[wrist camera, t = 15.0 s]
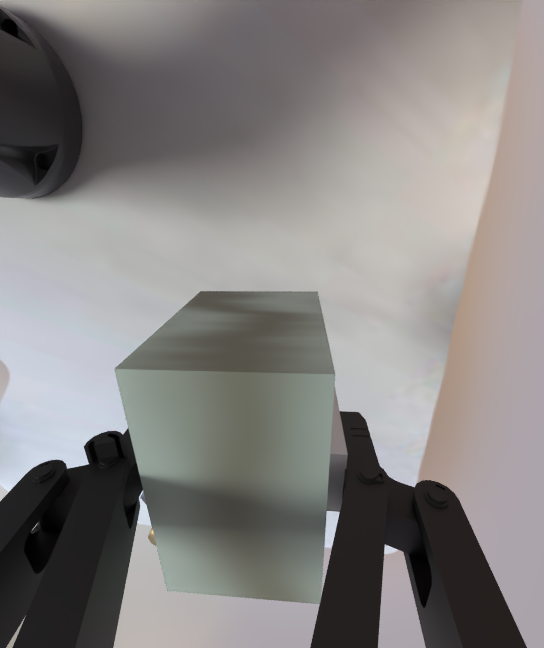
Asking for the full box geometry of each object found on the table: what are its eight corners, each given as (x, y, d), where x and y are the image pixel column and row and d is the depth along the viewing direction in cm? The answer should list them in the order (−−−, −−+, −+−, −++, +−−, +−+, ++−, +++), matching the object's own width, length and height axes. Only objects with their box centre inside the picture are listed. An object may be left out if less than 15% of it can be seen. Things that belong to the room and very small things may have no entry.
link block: (217, 443, 19) (167, 590, 12) (200, 291, 16) (114, 369, 8) (311, 447, 19) (320, 604, 12) (317, 291, 15) (335, 374, 8)
